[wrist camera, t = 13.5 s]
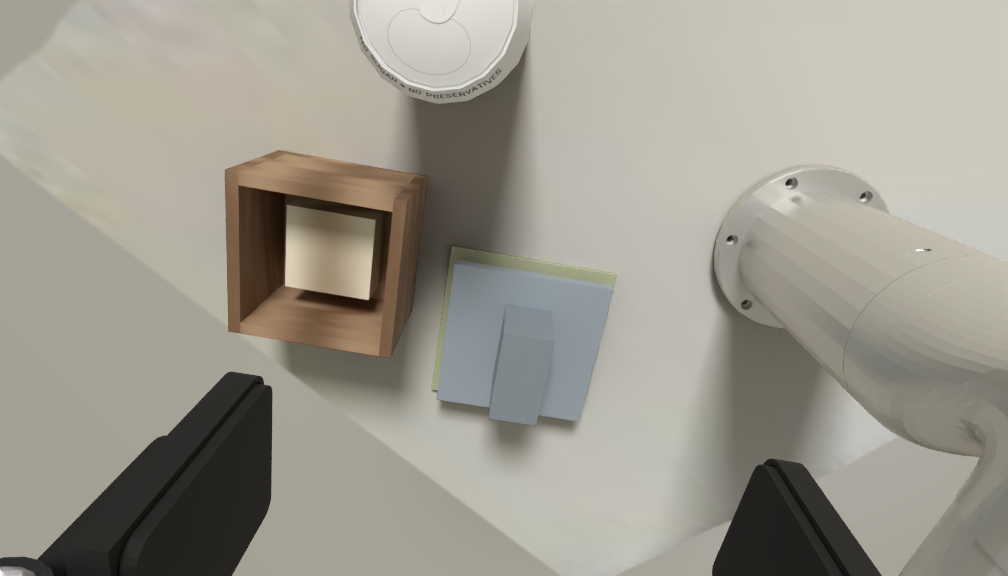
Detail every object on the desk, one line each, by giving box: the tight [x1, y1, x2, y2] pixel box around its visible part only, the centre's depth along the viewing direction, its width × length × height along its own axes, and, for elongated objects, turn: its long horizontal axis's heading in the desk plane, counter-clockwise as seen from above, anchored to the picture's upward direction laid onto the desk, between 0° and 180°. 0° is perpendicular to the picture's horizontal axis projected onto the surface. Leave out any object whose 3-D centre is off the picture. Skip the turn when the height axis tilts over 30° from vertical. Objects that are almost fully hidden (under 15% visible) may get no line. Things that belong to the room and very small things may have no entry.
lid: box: [436, 260, 613, 426], centre depth 42 cm, size 12×12×7 cm
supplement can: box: [350, 0, 533, 104], centre depth 30 cm, size 8×8×15 cm
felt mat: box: [431, 246, 616, 390], centre depth 45 cm, size 13×13×1 cm
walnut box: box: [225, 150, 428, 358], centre depth 39 cm, size 11×11×8 cm
